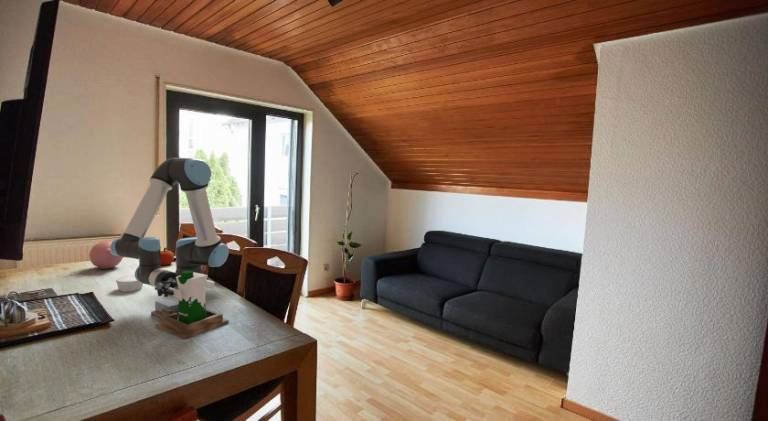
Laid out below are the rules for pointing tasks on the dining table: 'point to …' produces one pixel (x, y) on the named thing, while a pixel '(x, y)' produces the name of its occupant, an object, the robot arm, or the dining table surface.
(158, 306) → the lock bar
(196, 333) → the brown wooden tray
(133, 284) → the ramekin
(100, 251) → the pink ovoid shape
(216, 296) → the dining table surface
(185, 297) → the soya milk
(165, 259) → the fruit
